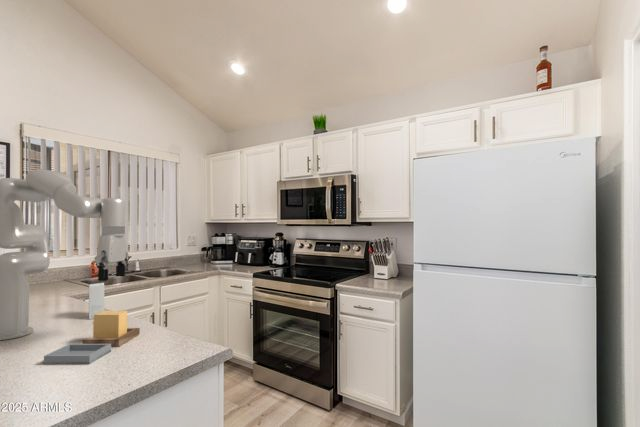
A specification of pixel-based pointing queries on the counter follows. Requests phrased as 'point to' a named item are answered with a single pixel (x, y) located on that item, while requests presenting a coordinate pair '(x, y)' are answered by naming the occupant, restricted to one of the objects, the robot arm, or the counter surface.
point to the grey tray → (77, 354)
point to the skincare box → (96, 299)
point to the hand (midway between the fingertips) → (112, 278)
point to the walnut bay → (114, 341)
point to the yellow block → (110, 324)
